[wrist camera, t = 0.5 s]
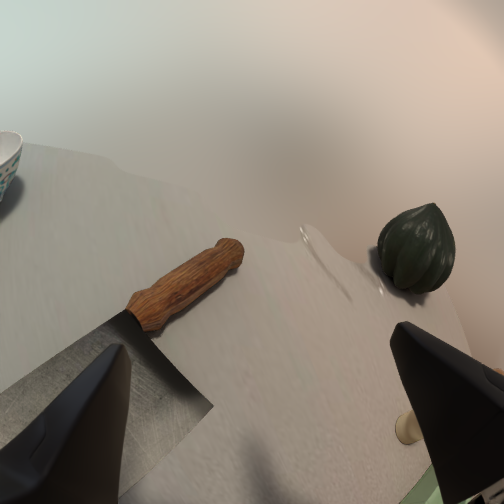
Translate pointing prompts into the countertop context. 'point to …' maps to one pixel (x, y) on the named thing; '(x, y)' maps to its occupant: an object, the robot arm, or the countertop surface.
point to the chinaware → (9, 158)
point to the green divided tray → (426, 491)
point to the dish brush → (413, 425)
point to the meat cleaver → (133, 367)
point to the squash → (417, 249)
